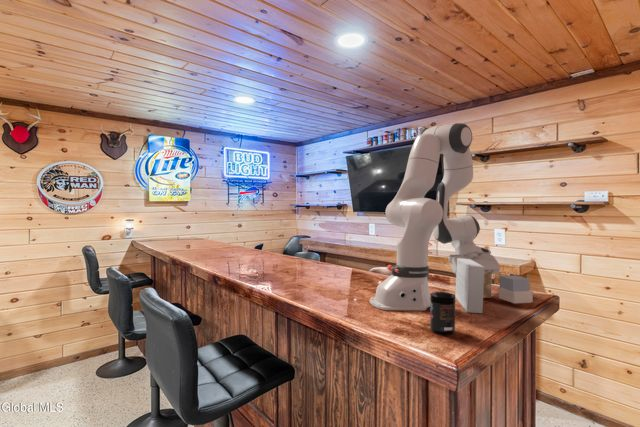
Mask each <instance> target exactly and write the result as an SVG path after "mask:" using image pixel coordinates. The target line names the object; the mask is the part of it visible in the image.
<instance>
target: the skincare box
mask: <svg viewBox="0 0 640 427" xmlns="http://www.w3.org/2000/svg"><path fill="white" fill-rule="evenodd" d="M484 268H485V267H483V266H482V265H480V264H478V263H476V262H474V261H473V260H471V259H464V258H457V273H456V274H455V278H456V279H455V294H454V295H455V300H456V301H458V303H459V304H460V305H461V306H462V308H463V309H464V310H465V311H466V312H467V313H473V314H483V312H484V311H483V309H484V308H483V307H484V306H483V305H484V298H483V289H484Z"/></svg>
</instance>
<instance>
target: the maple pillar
mask: <svg viewBox="0 0 640 427" xmlns="http://www.w3.org/2000/svg"><path fill="white" fill-rule="evenodd" d="M492 275H493V274H492V272H488V271H484V289H483V299H489V298H490V299H491V298H492V282H493V281H492V280H493V278H492ZM491 281H492V282H491Z"/></svg>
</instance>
